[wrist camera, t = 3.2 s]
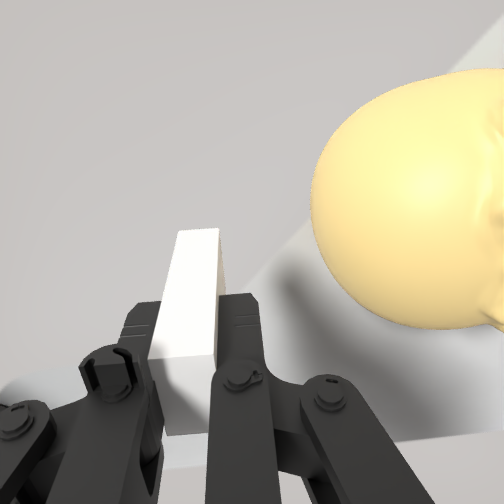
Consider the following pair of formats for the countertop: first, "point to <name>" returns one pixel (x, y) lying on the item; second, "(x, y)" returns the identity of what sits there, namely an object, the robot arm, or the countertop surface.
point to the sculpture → (419, 202)
